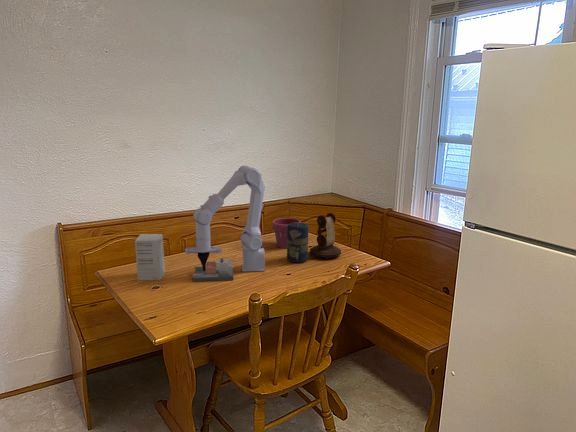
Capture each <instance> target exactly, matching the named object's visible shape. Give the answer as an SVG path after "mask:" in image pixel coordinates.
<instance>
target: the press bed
mask: <svg viewBox="0 0 576 432" xmlns="http://www.w3.org/2000/svg"><path fill="white" fill-rule="evenodd" d="M233 266H234V265H233V259H229V263H228V274H226V275H218V274H206V266H205V271H203V267H202V265H199V266H198V265H197V266H194V273H192V282H220V281H222V282H223V281H234V276H235V268H234V267H233Z"/></svg>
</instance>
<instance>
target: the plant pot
mask: <svg viewBox="0 0 576 432" xmlns="http://www.w3.org/2000/svg"><path fill="white" fill-rule="evenodd" d="M295 222H300V223H302V222H301V220H300V219H298V218H292V217H283V218H282V217H281V218H280V217H279V218H275V219H274V220H272V226H271V227H272V230H273V231H274V235H275V236H274V237H275V241H276V245H277V246H278V248H281V249H282V248H283V249H287V227H288V225H289V224H290V223H295Z"/></svg>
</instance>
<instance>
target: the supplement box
mask: <svg viewBox="0 0 576 432" xmlns="http://www.w3.org/2000/svg"><path fill="white" fill-rule="evenodd" d="M134 248H135V259H136V262H135V263H136V272H137V273H136V274H137V280H138V279H139V280H138V281H161V280H162V278H163V276H164V274H165V273H166V272H165V255H164V254H165V253H164V238H163V234H162V233H150V234H149V233H141V234H139V235H138V236H137V238H136V239H135V241H134Z"/></svg>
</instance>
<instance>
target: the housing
mask: <svg viewBox="0 0 576 432" xmlns="http://www.w3.org/2000/svg"><path fill="white" fill-rule="evenodd" d="M229 260H230V259H229V258H223V257H222V258H220V259H218V258H217V259H215V262H216V274H218V275H226V274H228V263H229Z"/></svg>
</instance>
